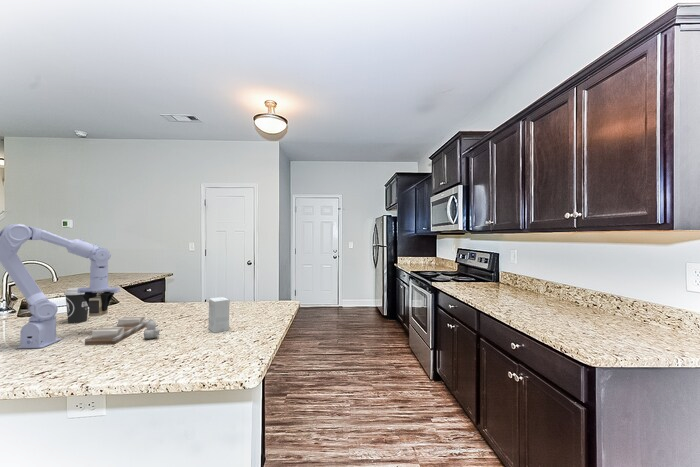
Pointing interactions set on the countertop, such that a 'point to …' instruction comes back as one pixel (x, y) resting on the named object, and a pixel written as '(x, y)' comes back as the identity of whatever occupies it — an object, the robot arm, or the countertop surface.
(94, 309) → the block
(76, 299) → the coffee cup
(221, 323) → the small box
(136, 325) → the rail board
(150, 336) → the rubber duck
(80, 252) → the robot arm
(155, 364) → the countertop surface
